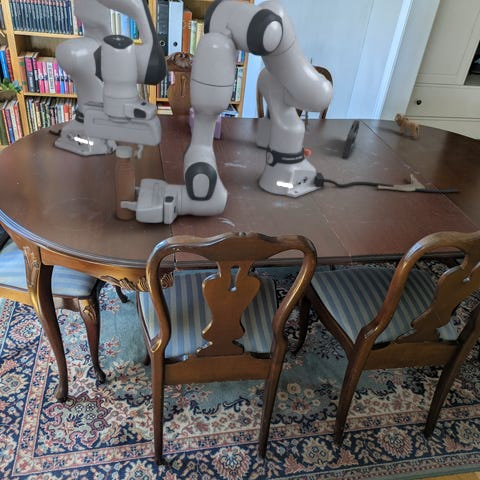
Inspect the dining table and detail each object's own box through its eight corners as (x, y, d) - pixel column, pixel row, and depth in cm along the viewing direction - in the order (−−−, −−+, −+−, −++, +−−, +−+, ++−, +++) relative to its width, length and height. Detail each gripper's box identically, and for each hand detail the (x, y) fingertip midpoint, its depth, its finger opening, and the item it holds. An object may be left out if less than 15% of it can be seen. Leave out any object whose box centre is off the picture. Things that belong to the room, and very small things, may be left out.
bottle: (115, 211, 137) (112, 147, 127) (134, 209, 139) (132, 146, 129) (117, 220, 133) (114, 155, 123) (136, 218, 135) (135, 154, 124)
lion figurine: (389, 131, 222) (394, 113, 217) (394, 129, 226) (399, 111, 221) (418, 140, 215) (424, 121, 210) (423, 138, 218) (429, 119, 214)
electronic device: (288, 147, 193) (299, 72, 177) (283, 153, 187) (295, 76, 171) (259, 141, 196) (268, 67, 179) (254, 147, 190) (262, 71, 173)
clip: (182, 123, 206) (183, 107, 202) (209, 122, 210) (210, 106, 207) (197, 140, 191) (197, 123, 187) (225, 138, 195) (226, 122, 191)
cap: (124, 150, 129) (124, 144, 128) (135, 155, 127) (135, 148, 126) (112, 154, 126) (112, 148, 125) (124, 159, 124) (123, 152, 123)
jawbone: (429, 189, 172) (431, 184, 171) (394, 201, 161) (396, 196, 160) (410, 177, 177) (412, 172, 176) (375, 189, 167) (376, 184, 165)
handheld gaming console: (349, 160, 187) (354, 136, 182) (342, 158, 188) (347, 134, 183) (355, 142, 206) (361, 119, 201) (349, 140, 207) (354, 118, 201)
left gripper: (76, 103, 117) (81, 155, 124) (156, 114, 116) (156, 165, 123) (86, 96, 122) (91, 146, 130) (163, 106, 121) (163, 156, 128)
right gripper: (172, 174, 142) (125, 172, 140) (170, 207, 125) (117, 205, 123) (171, 192, 145) (126, 191, 143) (170, 227, 128) (118, 225, 126)
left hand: (123, 155), depth 126 cm, fingers open, 7 cm apart
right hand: (122, 198), depth 133 cm, fingers closed on bottle, 5 cm apart
